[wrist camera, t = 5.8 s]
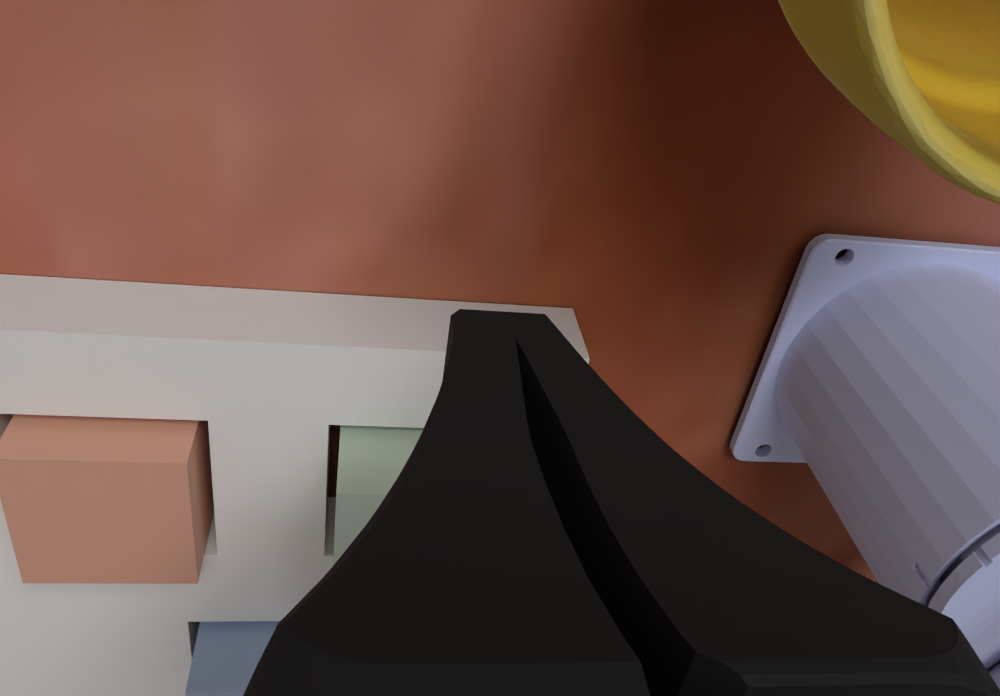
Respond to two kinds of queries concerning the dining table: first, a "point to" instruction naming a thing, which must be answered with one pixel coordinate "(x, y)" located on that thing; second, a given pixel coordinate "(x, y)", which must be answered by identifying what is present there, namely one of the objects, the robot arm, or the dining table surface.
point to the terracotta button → (107, 498)
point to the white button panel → (233, 449)
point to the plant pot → (916, 76)
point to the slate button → (227, 656)
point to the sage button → (367, 475)
